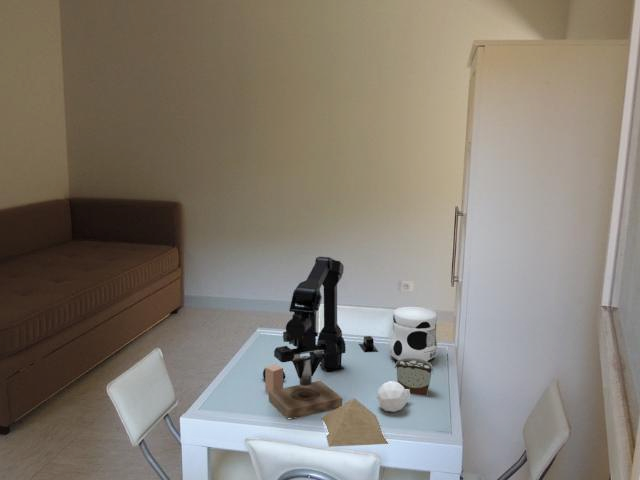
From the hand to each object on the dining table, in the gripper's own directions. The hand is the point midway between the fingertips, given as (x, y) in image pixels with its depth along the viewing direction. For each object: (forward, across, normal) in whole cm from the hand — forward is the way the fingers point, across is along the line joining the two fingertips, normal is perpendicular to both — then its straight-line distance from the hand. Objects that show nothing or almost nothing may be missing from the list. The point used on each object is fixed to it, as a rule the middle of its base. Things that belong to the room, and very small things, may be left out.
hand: (305, 377), depth 176 cm
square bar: (+9, +5, -12) cm, 16 cm away
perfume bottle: (+9, -23, +15) cm, 29 cm away
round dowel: (+2, 0, 0) cm, 2 cm away
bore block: (+8, 0, 0) cm, 9 cm away
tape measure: (+9, +1, -21) cm, 23 cm away
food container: (+9, -36, +7) cm, 38 cm away
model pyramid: (+9, -5, +20) cm, 23 cm away
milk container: (+9, -52, -15) cm, 55 cm away
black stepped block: (+10, -44, -32) cm, 55 cm away
